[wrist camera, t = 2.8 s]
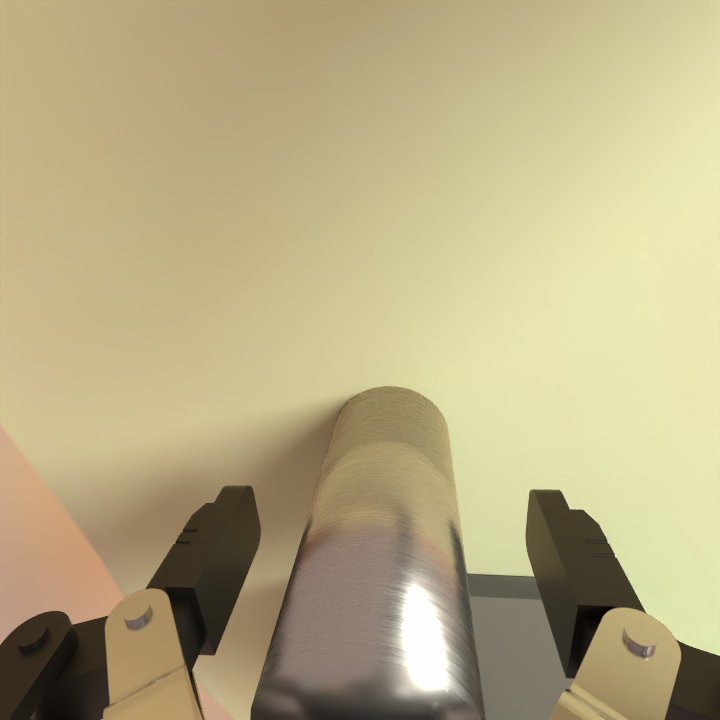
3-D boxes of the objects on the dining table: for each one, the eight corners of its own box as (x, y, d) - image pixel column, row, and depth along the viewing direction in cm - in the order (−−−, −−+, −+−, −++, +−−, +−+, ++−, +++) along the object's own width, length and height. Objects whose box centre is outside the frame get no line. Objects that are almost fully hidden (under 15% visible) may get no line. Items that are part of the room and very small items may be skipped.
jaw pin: (330, 387, 15) (230, 651, 7) (449, 386, 15) (495, 670, 6) (339, 481, 17) (268, 787, 8) (447, 483, 16) (483, 811, 8)
